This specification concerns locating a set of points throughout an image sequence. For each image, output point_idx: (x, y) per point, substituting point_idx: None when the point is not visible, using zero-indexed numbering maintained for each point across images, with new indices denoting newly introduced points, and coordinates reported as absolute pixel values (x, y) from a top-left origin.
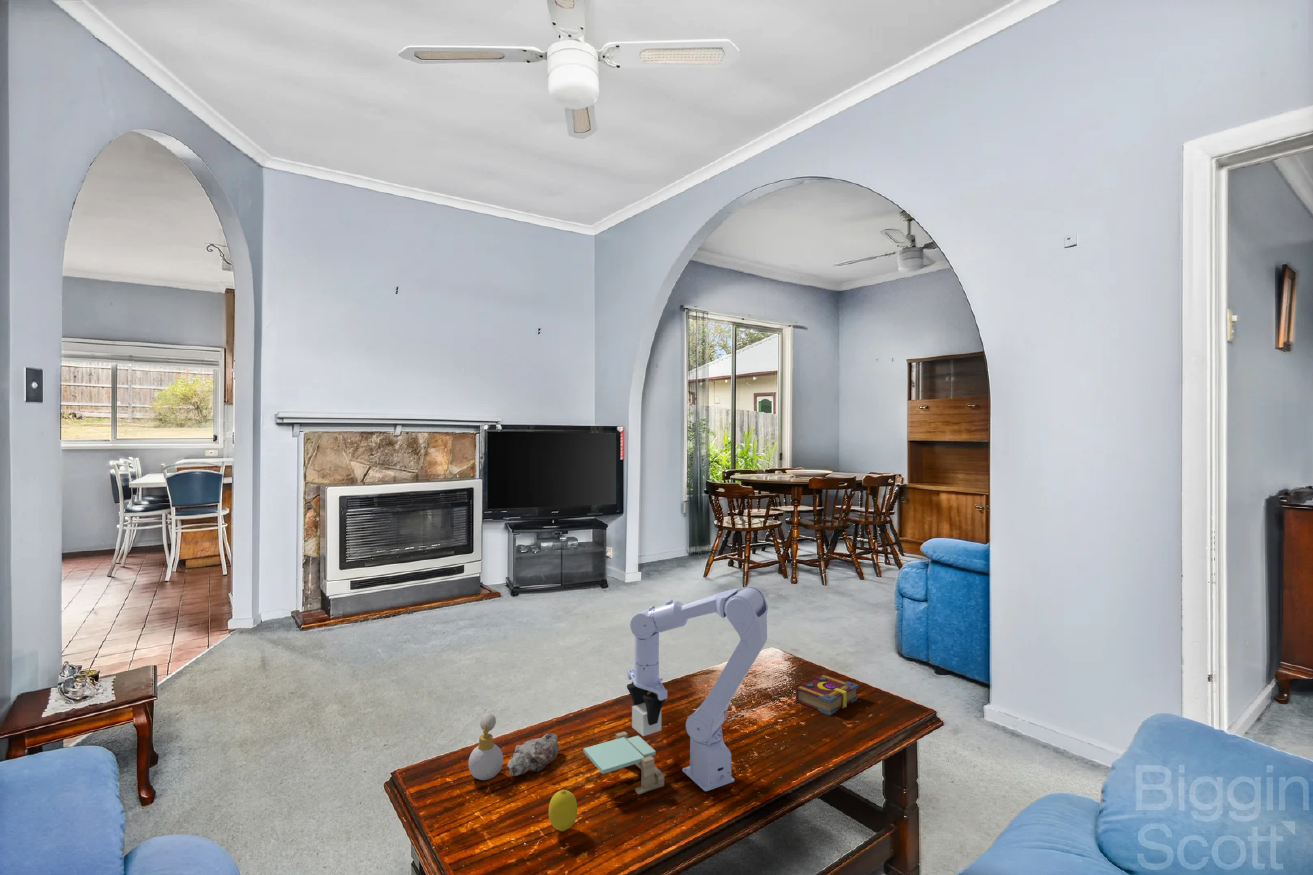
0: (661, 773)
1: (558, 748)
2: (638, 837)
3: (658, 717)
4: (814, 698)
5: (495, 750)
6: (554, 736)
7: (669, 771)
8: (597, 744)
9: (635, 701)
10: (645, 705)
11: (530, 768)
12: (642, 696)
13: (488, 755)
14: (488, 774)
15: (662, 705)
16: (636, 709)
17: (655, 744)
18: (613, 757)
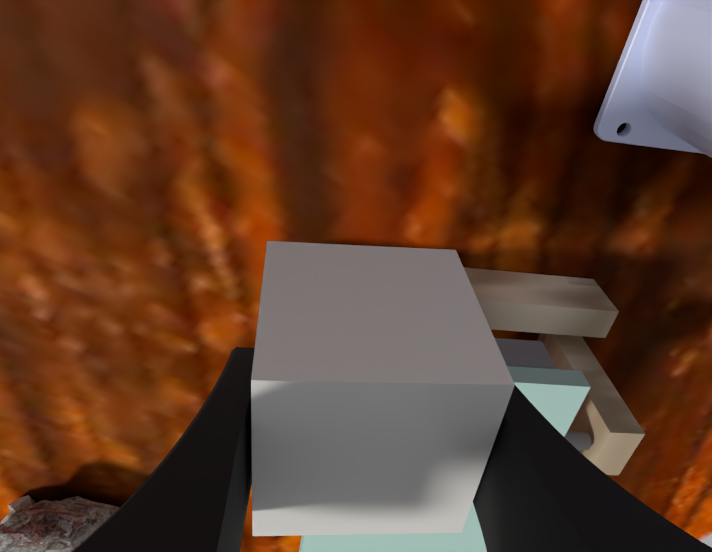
0: (598, 313)
1: (88, 516)
2: (694, 471)
3: (517, 388)
4: None
5: None
6: (16, 544)
7: (533, 188)
8: (303, 544)
9: (239, 543)
10: (319, 455)
11: None
12: (235, 523)
13: None
14: None
15: (620, 487)
16: (335, 532)
17: (233, 63)
18: (459, 537)
